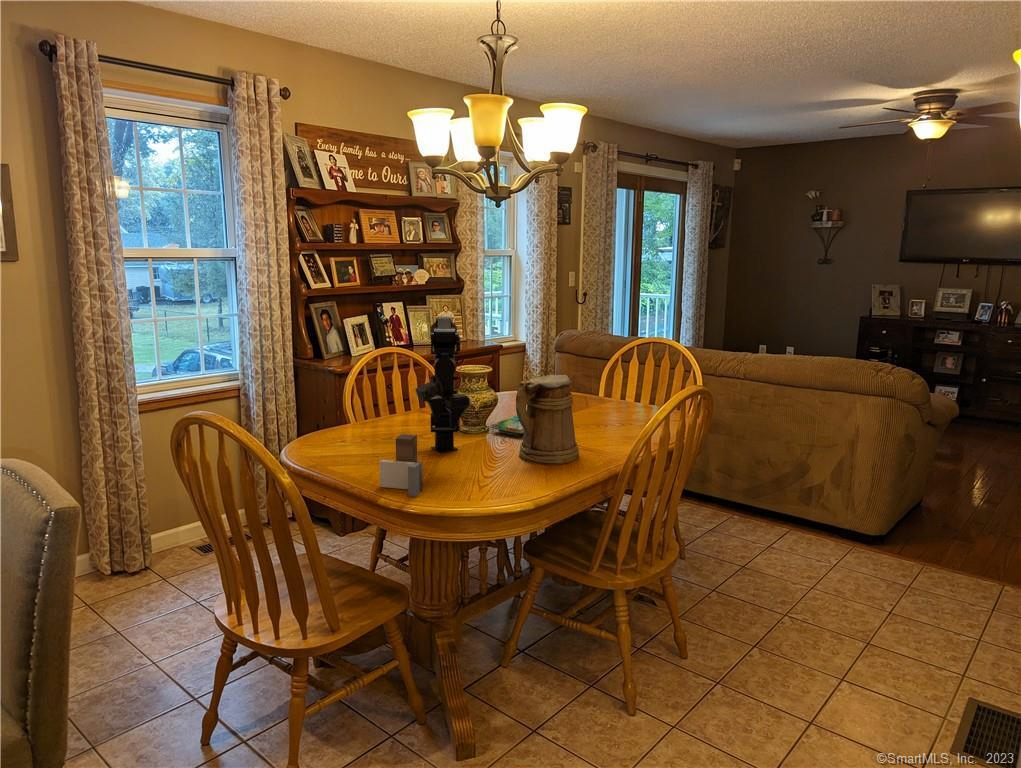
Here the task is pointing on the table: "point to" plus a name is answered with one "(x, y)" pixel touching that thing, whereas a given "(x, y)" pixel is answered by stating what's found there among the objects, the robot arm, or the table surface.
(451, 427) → the robot arm
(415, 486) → the gray upright block
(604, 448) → the table surface
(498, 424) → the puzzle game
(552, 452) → the tankard
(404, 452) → the doorstop post
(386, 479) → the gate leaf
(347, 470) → the table surface
